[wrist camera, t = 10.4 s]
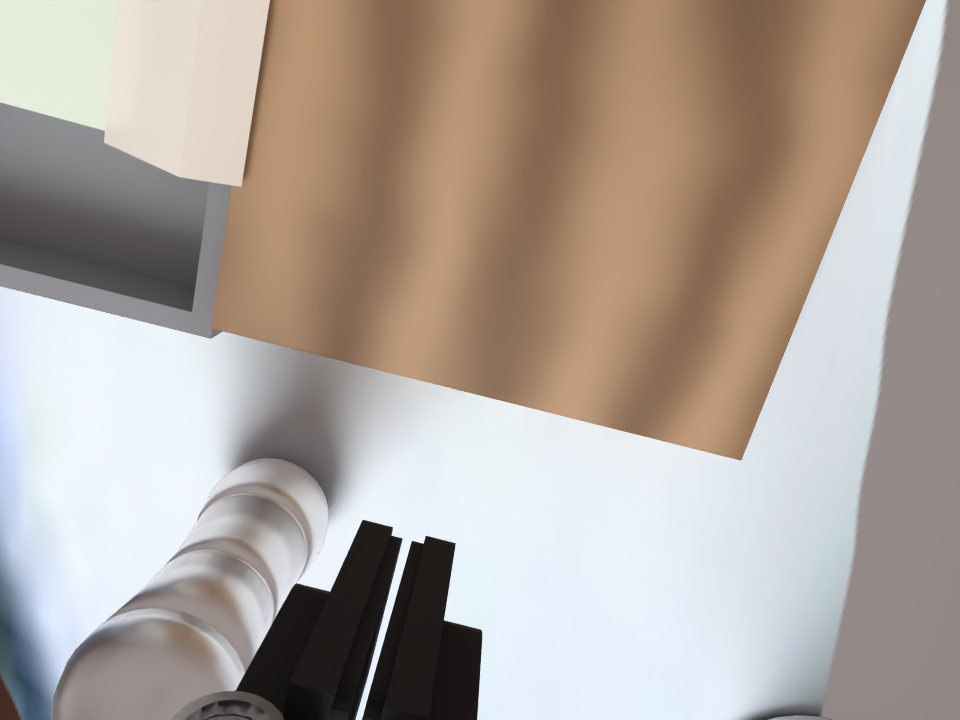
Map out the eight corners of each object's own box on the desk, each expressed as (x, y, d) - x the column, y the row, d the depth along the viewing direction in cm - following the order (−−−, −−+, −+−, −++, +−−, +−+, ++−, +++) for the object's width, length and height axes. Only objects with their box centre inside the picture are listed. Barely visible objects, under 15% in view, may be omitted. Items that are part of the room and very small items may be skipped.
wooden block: (851, 11, 30) (936, -27, 24) (700, 412, 35) (741, 460, 30) (331, -139, 29) (289, -215, 23) (258, 301, 34) (211, 328, 28)
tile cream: (270, -3, 24) (205, -30, 22) (241, 186, 26) (179, 177, 24) (182, -12, 28) (120, -36, 27) (162, 153, 30) (103, 142, 28)
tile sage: (-19, -83, 27) (23, -63, 29) (-27, 94, 29) (13, 100, 31) (151, -35, 27) (179, -19, 30) (132, 138, 29) (160, 140, 32)
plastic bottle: (343, 454, 37) (176, 771, 17) (331, 560, 38) (168, 952, 19) (227, 436, 36) (-73, 735, 17) (221, 543, 38) (-55, 920, 19)
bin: (323, -168, 28) (293, -229, 24) (246, 317, 35) (210, 338, 30) (-125, -298, 28) (-240, -384, 23) (-123, 224, 34) (-215, 232, 29)
